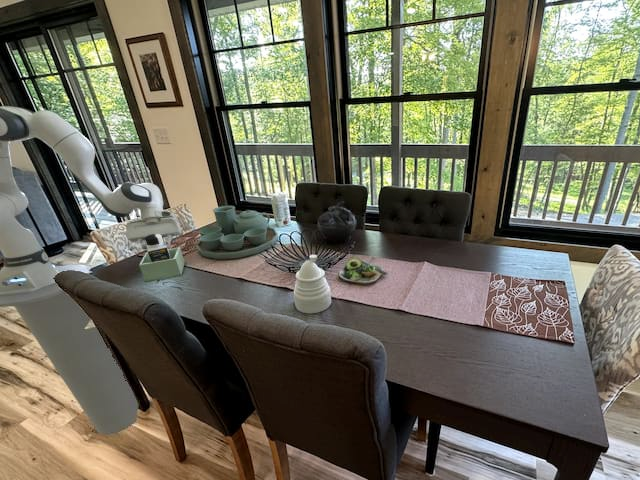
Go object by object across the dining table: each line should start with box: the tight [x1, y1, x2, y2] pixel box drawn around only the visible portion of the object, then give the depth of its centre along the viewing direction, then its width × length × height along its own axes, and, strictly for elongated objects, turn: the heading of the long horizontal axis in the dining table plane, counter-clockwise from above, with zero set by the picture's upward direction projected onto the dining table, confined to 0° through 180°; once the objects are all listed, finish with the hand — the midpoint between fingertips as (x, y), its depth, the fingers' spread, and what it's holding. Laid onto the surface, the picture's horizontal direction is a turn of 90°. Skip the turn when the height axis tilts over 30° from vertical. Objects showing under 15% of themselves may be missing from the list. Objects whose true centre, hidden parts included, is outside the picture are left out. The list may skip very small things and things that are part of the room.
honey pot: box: [293, 254, 332, 314], centre depth 108 cm, size 13×13×18 cm
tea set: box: [195, 205, 279, 260], centre depth 160 cm, size 40×40×16 cm
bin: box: [138, 246, 186, 282], centre depth 137 cm, size 14×14×8 cm
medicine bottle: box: [144, 234, 171, 262], centre depth 134 cm, size 7×7×12 cm
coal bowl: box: [317, 201, 357, 242], centre depth 160 cm, size 20×20×19 cm
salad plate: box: [338, 257, 389, 285], centre depth 128 cm, size 19×18×5 cm
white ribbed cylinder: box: [270, 191, 292, 228], centre depth 185 cm, size 8×9×19 cm
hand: (156, 247), depth 133 cm, fingers closed on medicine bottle, 7 cm apart
